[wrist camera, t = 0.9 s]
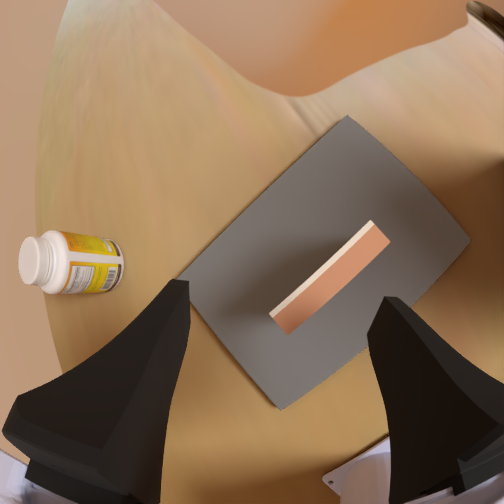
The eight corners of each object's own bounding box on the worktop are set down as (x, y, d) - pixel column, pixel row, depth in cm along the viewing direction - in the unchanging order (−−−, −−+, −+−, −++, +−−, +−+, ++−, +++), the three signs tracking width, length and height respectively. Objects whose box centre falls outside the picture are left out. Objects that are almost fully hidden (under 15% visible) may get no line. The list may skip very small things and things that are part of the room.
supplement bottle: (91, 242, 30) (15, 231, 20) (126, 236, 28) (44, 220, 18) (92, 293, 29) (15, 294, 19) (128, 291, 27) (44, 294, 18)
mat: (467, 241, 19) (471, 240, 18) (282, 406, 22) (280, 410, 21) (347, 119, 22) (347, 114, 21) (179, 280, 26) (174, 280, 25)
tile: (376, 252, 20) (390, 241, 14) (305, 317, 21) (287, 335, 15) (362, 237, 21) (370, 219, 14) (292, 302, 22) (268, 313, 15)
